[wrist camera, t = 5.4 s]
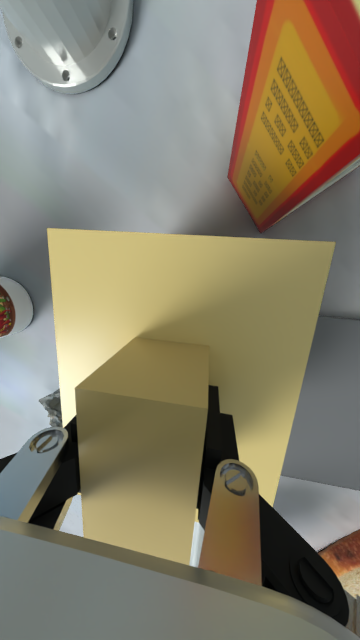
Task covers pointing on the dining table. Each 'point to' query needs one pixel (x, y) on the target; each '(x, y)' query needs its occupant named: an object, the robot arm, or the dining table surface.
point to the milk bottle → (14, 307)
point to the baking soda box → (297, 106)
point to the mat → (328, 409)
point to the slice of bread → (345, 561)
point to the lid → (177, 366)
